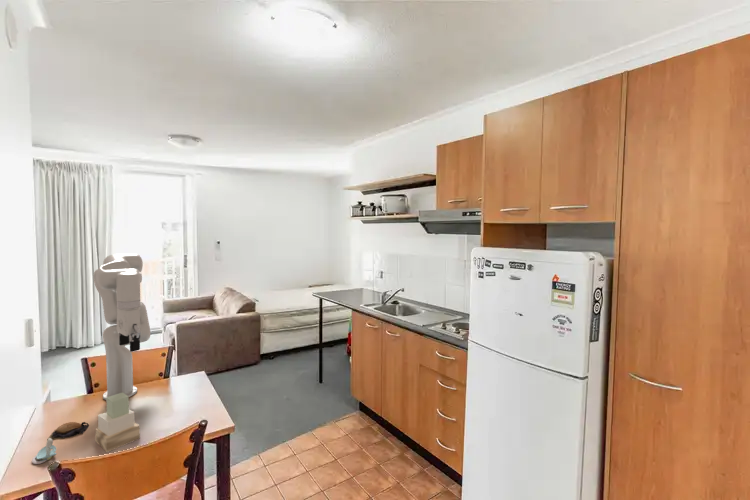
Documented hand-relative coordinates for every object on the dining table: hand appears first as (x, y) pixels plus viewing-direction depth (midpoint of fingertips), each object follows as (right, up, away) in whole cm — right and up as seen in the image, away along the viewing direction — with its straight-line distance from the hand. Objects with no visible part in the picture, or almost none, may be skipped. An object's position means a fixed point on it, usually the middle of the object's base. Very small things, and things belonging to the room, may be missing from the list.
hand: (129, 347), depth 141 cm
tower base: (+4, -30, -12) cm, 32 cm away
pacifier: (-12, -30, -23) cm, 40 cm away
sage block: (+5, -20, -13) cm, 24 cm away
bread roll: (-17, -30, -8) cm, 35 cm away
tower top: (+4, -25, -13) cm, 28 cm away
